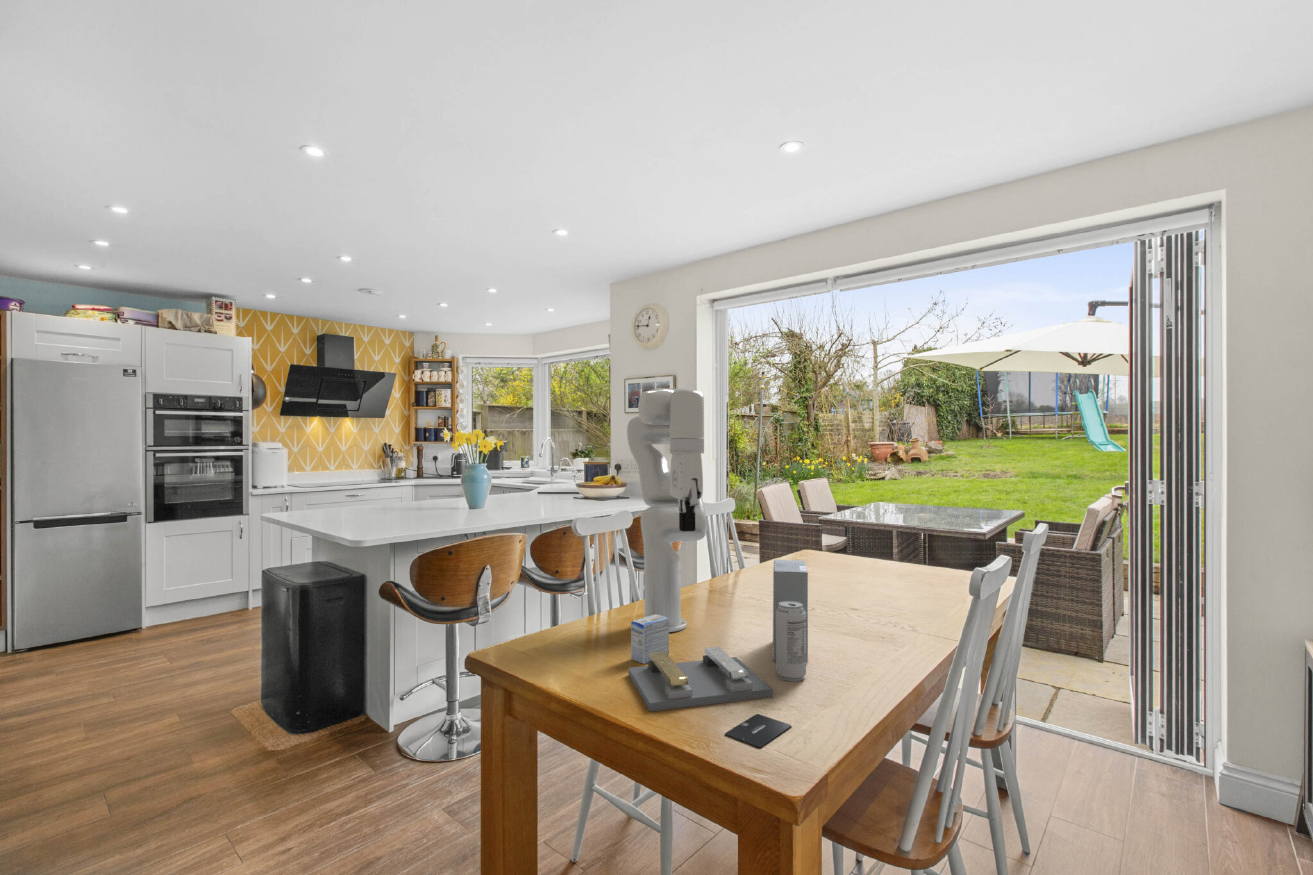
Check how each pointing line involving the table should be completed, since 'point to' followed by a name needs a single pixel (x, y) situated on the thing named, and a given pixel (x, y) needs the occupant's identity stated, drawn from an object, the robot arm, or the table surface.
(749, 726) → the solid state drive
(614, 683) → the table surface
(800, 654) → the energy drink can
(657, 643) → the medicine box
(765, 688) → the board
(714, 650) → the steel strap
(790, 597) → the hard drive box
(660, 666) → the brass strap
